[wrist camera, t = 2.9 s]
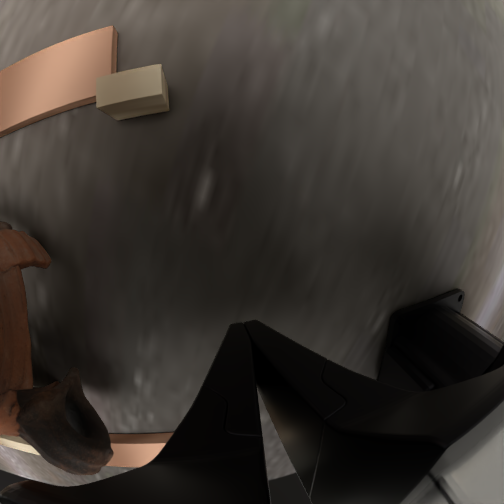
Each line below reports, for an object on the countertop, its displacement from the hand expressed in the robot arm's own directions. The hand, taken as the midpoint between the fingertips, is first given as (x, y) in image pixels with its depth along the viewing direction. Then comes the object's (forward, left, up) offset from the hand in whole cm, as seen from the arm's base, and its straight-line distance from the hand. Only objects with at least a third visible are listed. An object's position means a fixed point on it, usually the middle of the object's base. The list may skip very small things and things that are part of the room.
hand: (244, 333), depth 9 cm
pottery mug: (+10, +1, -3) cm, 11 cm away
